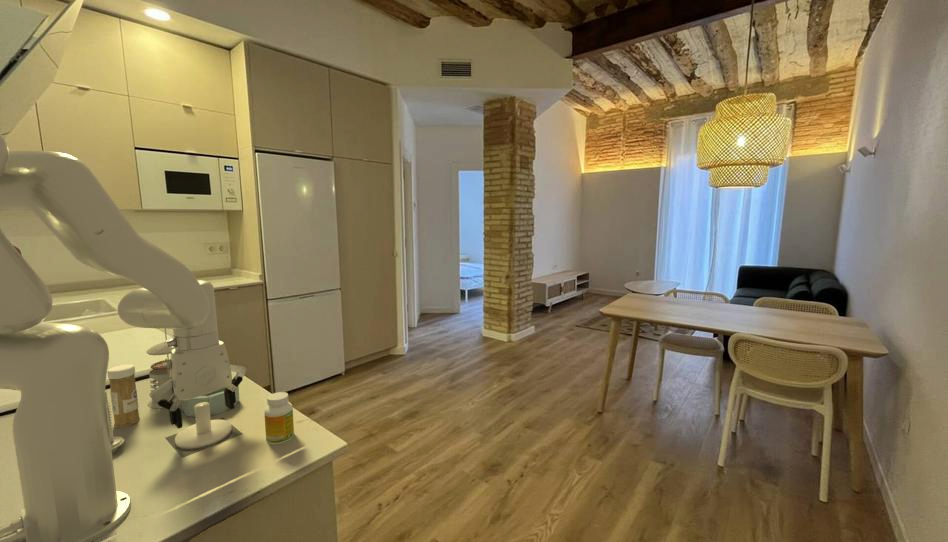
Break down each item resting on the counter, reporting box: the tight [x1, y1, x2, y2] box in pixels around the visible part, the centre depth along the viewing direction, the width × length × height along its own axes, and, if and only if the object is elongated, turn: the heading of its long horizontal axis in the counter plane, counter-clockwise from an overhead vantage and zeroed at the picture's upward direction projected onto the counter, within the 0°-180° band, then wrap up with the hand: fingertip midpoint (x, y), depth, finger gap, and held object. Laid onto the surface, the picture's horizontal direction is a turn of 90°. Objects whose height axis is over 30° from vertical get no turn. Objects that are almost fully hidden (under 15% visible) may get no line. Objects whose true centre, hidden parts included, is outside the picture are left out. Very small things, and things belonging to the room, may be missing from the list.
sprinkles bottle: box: [107, 364, 141, 428], centre depth 88 cm, size 5×5×13 cm
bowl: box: [181, 385, 240, 418], centre depth 97 cm, size 11×11×5 cm
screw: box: [105, 391, 125, 454], centre depth 77 cm, size 13×5×5 cm
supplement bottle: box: [264, 391, 295, 445], centre depth 83 cm, size 5×5×10 cm
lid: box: [175, 402, 232, 449], centre depth 84 cm, size 10×10×7 cm
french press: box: [145, 328, 182, 409], centre depth 99 cm, size 10×12×25 cm
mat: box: [165, 417, 244, 458], centre depth 84 cm, size 11×11×1 cm
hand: (205, 416), depth 84 cm, fingers open, 9 cm apart
